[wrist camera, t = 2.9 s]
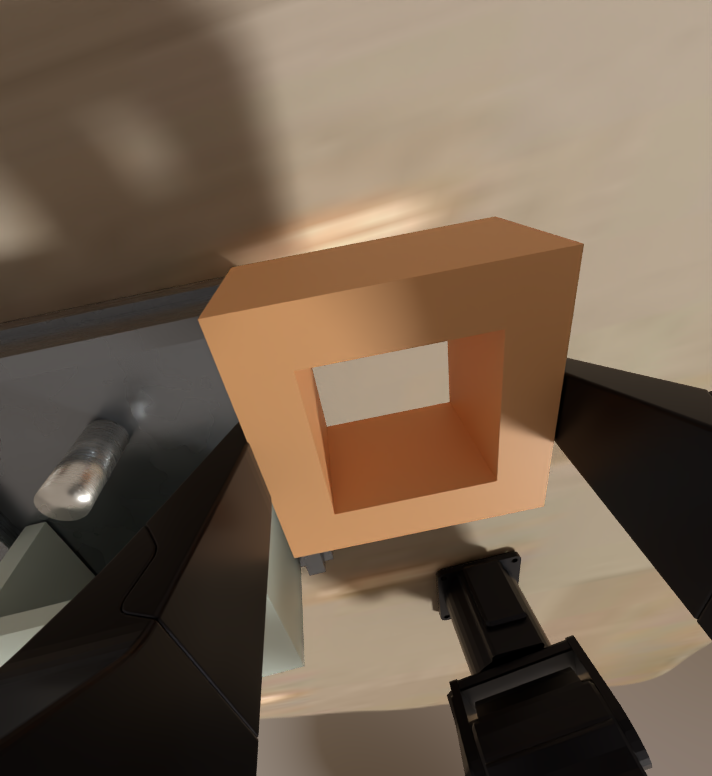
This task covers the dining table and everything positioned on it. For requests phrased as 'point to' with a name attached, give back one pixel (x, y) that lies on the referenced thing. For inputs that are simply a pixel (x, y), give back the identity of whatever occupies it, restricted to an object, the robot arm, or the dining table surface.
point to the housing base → (108, 417)
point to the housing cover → (70, 575)
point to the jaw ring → (393, 333)
